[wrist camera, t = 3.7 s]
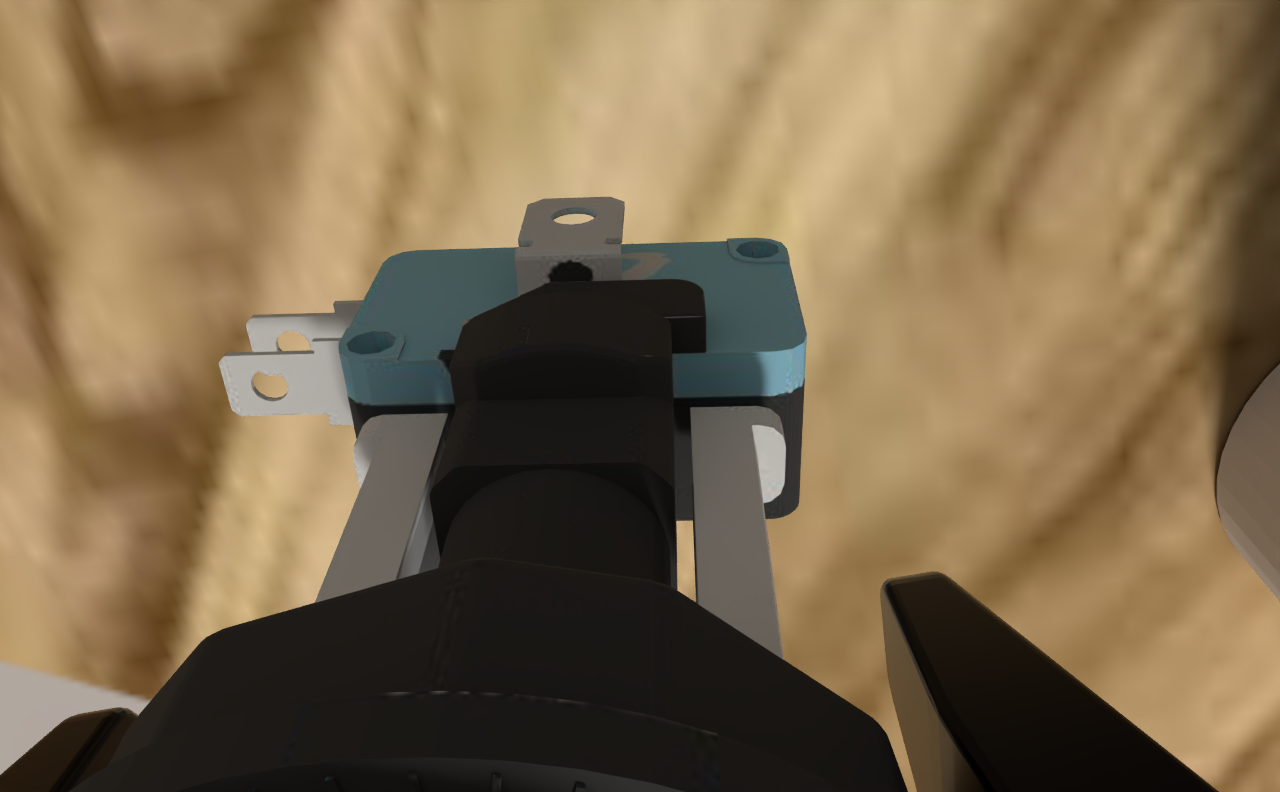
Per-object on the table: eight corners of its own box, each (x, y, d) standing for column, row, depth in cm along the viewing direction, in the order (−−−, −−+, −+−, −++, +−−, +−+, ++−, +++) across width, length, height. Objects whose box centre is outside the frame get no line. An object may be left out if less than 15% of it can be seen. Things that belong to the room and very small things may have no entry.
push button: (309, 491, 15) (-178, 1540, 6) (212, 102, 12) (-922, 1032, 3) (800, 481, 14) (1000, 1554, 6) (819, 81, 12) (1247, 1024, 3)
